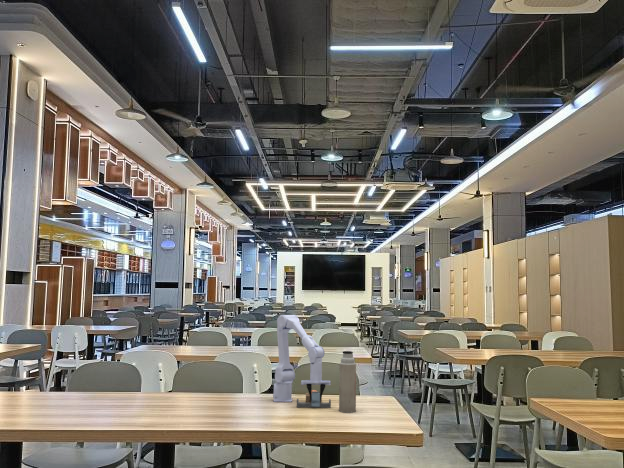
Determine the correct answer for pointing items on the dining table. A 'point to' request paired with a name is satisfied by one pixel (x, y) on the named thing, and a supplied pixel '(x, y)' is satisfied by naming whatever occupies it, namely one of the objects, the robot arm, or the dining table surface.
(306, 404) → the rail
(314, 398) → the block
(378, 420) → the dining table surface
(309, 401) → the square wooden frame
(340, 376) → the thermos bottle
